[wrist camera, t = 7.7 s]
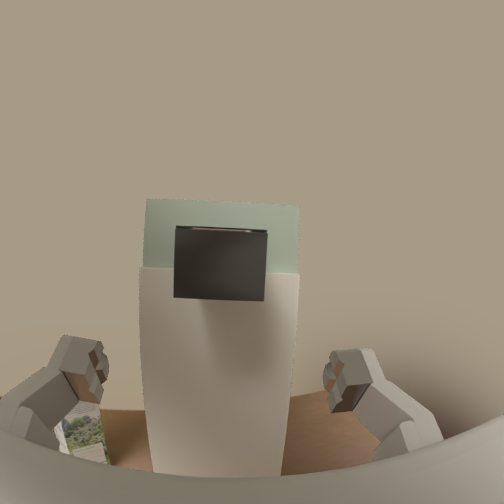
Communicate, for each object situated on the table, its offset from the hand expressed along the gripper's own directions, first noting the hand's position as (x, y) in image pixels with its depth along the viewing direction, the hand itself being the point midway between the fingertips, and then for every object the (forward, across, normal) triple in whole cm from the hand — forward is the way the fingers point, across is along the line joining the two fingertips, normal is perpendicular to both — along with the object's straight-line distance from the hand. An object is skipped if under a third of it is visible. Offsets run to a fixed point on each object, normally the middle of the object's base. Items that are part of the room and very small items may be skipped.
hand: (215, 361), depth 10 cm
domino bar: (+10, 0, +3) cm, 10 cm away
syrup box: (+4, +18, +33) cm, 38 cm away
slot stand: (+4, 0, +32) cm, 32 cm away
